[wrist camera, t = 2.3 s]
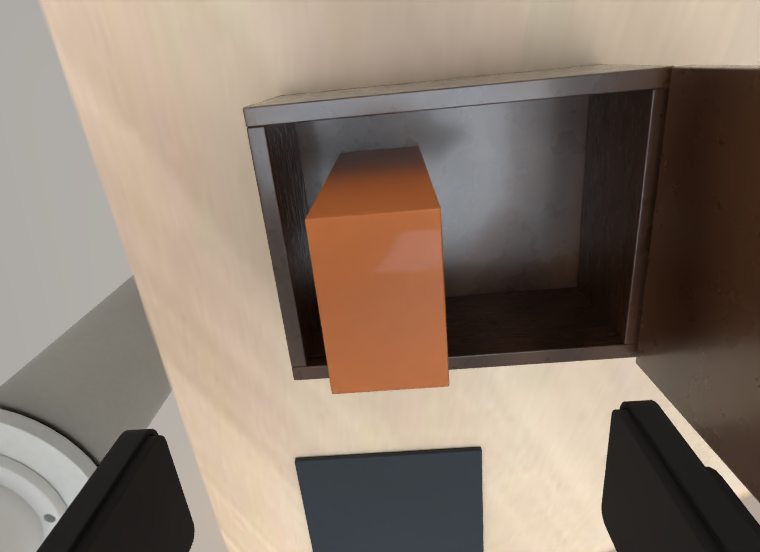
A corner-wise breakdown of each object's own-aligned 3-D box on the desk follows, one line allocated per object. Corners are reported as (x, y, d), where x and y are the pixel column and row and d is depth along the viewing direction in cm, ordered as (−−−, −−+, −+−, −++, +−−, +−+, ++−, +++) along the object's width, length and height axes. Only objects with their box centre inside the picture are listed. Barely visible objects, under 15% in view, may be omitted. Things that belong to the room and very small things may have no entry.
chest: (314, 312, 34) (293, 380, 26) (279, 95, 28) (242, 107, 21) (584, 292, 33) (639, 357, 25) (600, 64, 27) (676, 65, 20)
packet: (353, 267, 31) (331, 394, 19) (339, 153, 29) (304, 219, 17) (426, 261, 31) (449, 386, 19) (419, 145, 28) (441, 207, 16)
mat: (317, 567, 43) (316, 571, 43) (295, 458, 38) (294, 461, 38) (482, 559, 42) (483, 563, 42) (480, 446, 38) (481, 450, 37)
